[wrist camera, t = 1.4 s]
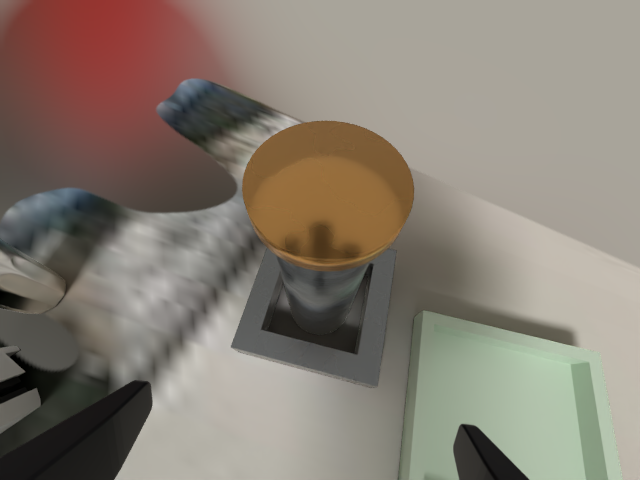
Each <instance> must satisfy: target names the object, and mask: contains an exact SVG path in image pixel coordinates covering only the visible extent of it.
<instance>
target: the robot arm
mask: <svg viewBox="0 0 640 480" xmlns="http://www.w3.org/2000/svg"><path fill="white" fill-rule="evenodd" d="M151 409H152V392H151V384H150V382H148V381H142V380H134V381H132V382H130V383H129V384H127V385H125V386H123V387H122V388H120V389H118V390H116V391H115V392H113V393H111V394H110V395H108V396H106V397H104V398H103V399H101V400H99V401H97V402H96V403H94V404H92V405H90V406H89V407H87V408H85V409H83V410H82V411H80V412H78V413H77V414H75V415H73V416H71V417H70V418H68V419H66V420H64V421H63V422H61V423H59V424H57V425H56V426H54V427H52V428H50V429H49V430H47V431H45V432H44V433H42V434H40V435H38V436H37V437H35V438H33V439H31V440H30V441H28V442H26V443H24V444H23V445H21V446H19V447H17V448H16V449H14V450H12V451H11V452H9V453H7V454H5V455H4V456H2V457H0V480H114V479H115V477H116V476H117V474H118V472H119V471H120V469H121V467H122V465H123V464H124V462H125V460H126V458H127V456H128V454H129V452H130V450H131V448H132V446H133V444H134V443H135V441H136V439H137V437H138V435H139V433H140V431H141V429H142V427H143V425H144V423H145V421H146V419H147V417H148V415H149V413H150V411H151ZM453 453H454V458H455V463H456V467H457V472H458V477H459V480H530V479H529V478H528V477H527V476H526V475H525V474H524V473H523V472H522V471H521V470H520V469H519V468H518V467H517V466H516V465H515V464H514V463H513V462H512V461H511V460H510V459H509V458H508V457H507V456H506V455H505V454H504V453H503V452H502V451H501V450H500V449H499V448H498V447H497V446H496V445H495V444H494V443H493V442H492V441H491V440H490V439H489V438H488V437H487V436H486V435H485V434H484V433H483V432H482V431H481V430H480V429H479V428H478V427H477V426H475V425H470V424H461V425H460V426H459V428H458V431H457V435H456V438H455V441H454V445H453Z"/></svg>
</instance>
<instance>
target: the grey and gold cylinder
mask: <svg viewBox="0 0 640 480" xmlns="http://www.w3.org/2000/svg"><path fill="white" fill-rule="evenodd" d="M242 192H243V199H244V203H245V206H246V209H247V212H248V215H249V218H250V221H251V223H252V226H253V228H254V230H255V232H256V234H257V235H258V237H259V238H260V240H261V241H262V242H263V243H264V244H265V246H266V247H267V248H268V249H269V250H271V251H272V252H273V253H274V254H275V255H276V256H277V260H278V264H279V267H280V271H281V275H282V279H283V283H284V287H285V290H286V294H287V298H288V302H289V306H290V310H291V313H292V316H293V319H294V320H295V322H296V323H297V325H298V326H299V327H300V328H302V329H303V330H304V331H306V332H308V333H311V334H316V335H324V334H329V333H331V332H333V331H335V330H337V329H338V328H339V327H340V326H341V325H342V324H343V323H344V321H345V319H346V317H347V315H348V313H349V310H350V308H351V305H352V303H353V301H354V298H355V296H356V293H357V291H358V289H359V286H360V284H361V281H362V279H363V277H364V274H365V272H366V270H367V267H368V265H369V262H370V261H372V260H374V259H375V258H377V257H378V256H380V255H381V254H382V253H384V252H385V251H386V250H387V249H388V248H389V247H390V246H391V245H392V243H393V242H394V241H395V240H396V238H397V236H398V235H399V233H400V231H401V229H402V227H403V225H404V223H405V222H406V220H407V218H408V216H409V213H410V211H411V208H412V204H413V199H414V186H413V179H412V176H411V172H410V170H409V168H408V165H407V163H406V162H405V160H404V159H403V157H402V156H401V154H400V153H399V152H398V151H397V150H396V149H395V148H394V147H393V146H392V145H391V144H390V143H389V142H388V141H386V140H385V139H384V138H382V137H381V136H379V135H377V134H376V133H374V132H372V131H370V130H367V129H365V128H363V127H360V126H357V125H353V124H349V123H344V122H337V121H314V122H307V123H302V124H298V125H295V126H292V127H289V128H287V129H284V130H282V131H280V132H278V133H277V134H275V135H273V136H272V137H270V138H269V139H268V140H266V141H265V142H264V143H263V144H262V145H261V146H260V147H259V148H258V149H257V150H256V151H255V153H254V154H253V155H252V157H251V159H250V161H249V162H248V164H247V167H246V169H245V172H244V177H243V185H242Z"/></svg>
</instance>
